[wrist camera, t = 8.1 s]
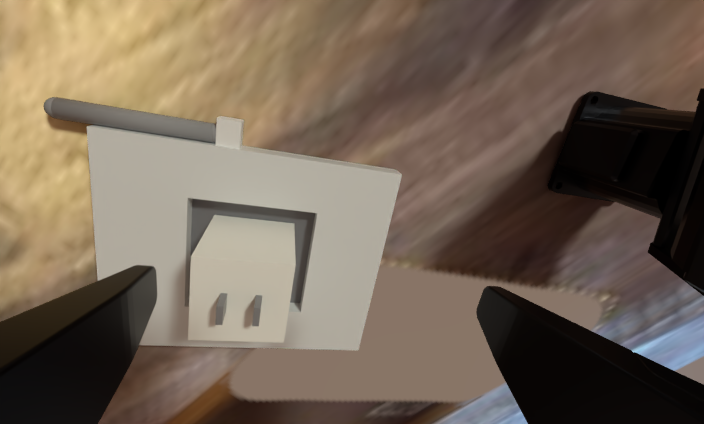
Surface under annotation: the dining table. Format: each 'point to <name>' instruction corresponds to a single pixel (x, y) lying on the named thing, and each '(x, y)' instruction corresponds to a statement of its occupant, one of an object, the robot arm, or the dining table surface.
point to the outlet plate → (245, 202)
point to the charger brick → (242, 280)
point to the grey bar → (148, 122)
